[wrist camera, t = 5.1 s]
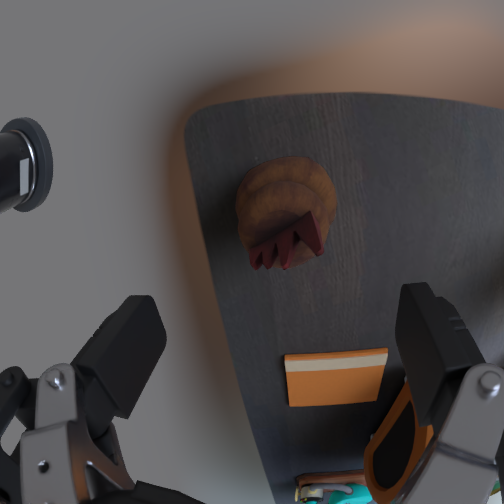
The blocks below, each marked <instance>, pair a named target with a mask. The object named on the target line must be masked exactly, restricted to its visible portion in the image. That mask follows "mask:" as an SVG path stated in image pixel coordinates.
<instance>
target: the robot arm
mask: <svg viewBox="0 0 504 504" xmlns="http://www.w3.org/2000/svg"><path fill="white" fill-rule="evenodd" d="M38 176H39V166H38V158H37V153H36V150H35V147H34V144H33V142H32V140H31V139H30V137H29V136H28V135H27V134H26V133H25V132H24V131H22V130H20V129H14V130H9V131H7V132H5V133H0V214H1V213H3V212H5V211H7V210H9V209H11V208H13V207H15V206H17V205H20V204H23V203H25V202H27V201H28V200H29V199H30V198H31V197H32V196H33V194H34V192H35V190H36V187H37V183H38ZM395 336H396V343H397V346H398V350H399V353H400V356H401V359H402V363H403V366H404V370H405V373H406V377H407V380H408V384H409V388H410V391H411V395H412V399H413V403H414V407H415V411H416V415H417V420H418V424H419V427H424V426H429V425H432V428H433V432H434V434H433V436H432V437H431V439H430V441H429V443H428V445H427V446H426V448H425V450H424V452H423V454H422V455H421V457H420V459H419V461H418V462H417V464H416V466H415V467H414V469H413V471H412V472H411V474H410V475H409V477H408V479H407V480H406V482H405V483H404V485H403V486H402V488H401V489H400V491H399V492H398V493H397V495H396V496H395V497H394V498H393V500H392V501H391V502H390V504H486V503H487V501H488V499H489V496H490V494H491V492H492V489H493V487H494V484H495V482H496V479H497V476H498V477H499V483H500V490H501V496H502V504H504V370H503V369H502V368H500V367H498V366H496V365H494V364H489V363H486V362H485V360H484V358H483V356H482V354H481V352H480V350H479V348H478V346H477V345H476V343H475V341H474V339H473V337H472V336H471V334H470V332H469V330H468V329H466V325H465V324H464V322H463V320H462V319H460V315H459V314H458V312H457V310H456V309H455V307H454V306H453V305H452V304H451V303H450V302H448V301H447V300H446V299H444V298H443V297H435V295H434V293H433V292H432V290H431V288H430V287H429V285H428V284H427V283H426V282H421V283H411V284H403V285H402V288H401V292H400V300H399V307H398V313H397V320H396V327H395ZM166 338H167V337H166V331H165V328H164V326H163V323H162V320H161V317H160V315H159V312H158V309H157V307H156V304H155V301H154V299H153V298H152V297H151V296H149V295H131V296H129V297H128V298H127V299H126V300H125V301H124V302H123V304H122V305H121V306H120V307H119V308H118V310H116V311H115V312H114V313H112V314H111V315H109V316H108V317H107V318H106V319H105V320H104V321H103V323H102V324H101V325H100V326H99V329H97V330H96V331H95V333H94V334H93V337H91V338H90V339H89V340H88V341H87V343H86V344H85V345H84V346H83V348H82V349H81V350H80V352H79V353H78V354H77V355H76V357H75V358H74V359H73V361H72V362H71V363H70V365H69V364H66V363H61V364H57V365H54V366H52V367H50V368H48V369H47V370H46V371H45V372H44V373H43V374H42V375H41V376H40V378H36V379H28V378H27V376H26V375H25V373H24V372H23V370H22V369H21V368H20V367H17V366H13V367H10V368H7V369H6V370H4V371H3V372H1V373H0V440H1V437H2V435H3V433H4V432H5V430H6V428H7V427H8V425H9V423H10V422H11V420H12V419H13V417H14V416H16V417H17V418H18V420H19V421H20V422H21V423H22V424H23V425H24V426H25V427H26V428H27V429H26V430H25V432H23V433H22V435H21V439H20V441H19V443H18V444H17V446H16V448H15V450H14V451H13V453H12V455H11V456H9V455H7V454H6V453H5V452H4V451H3V449H2V447H1V444H0V504H205V503H203V502H201V501H198V500H196V499H194V498H192V497H189V496H187V495H185V494H183V493H181V492H179V491H176V490H171V489H168V488H163V487H160V486H156V485H152V484H149V483H145V482H142V481H138V480H137V482H136V485H135V483H134V482H133V480H132V479H131V478H130V476H129V474H128V473H127V470H126V468H125V464H124V460H123V457H122V454H121V450H120V446H119V442H118V438H117V434H116V430H115V426H114V424H113V423H112V422H111V421H112V419H113V417H114V416H117V417H120V418H124V419H128V418H129V416H130V414H131V412H132V410H133V408H134V406H135V404H136V402H137V401H138V398H139V397H140V395H141V393H142V391H143V389H144V387H145V385H146V383H147V381H148V379H149V377H150V375H151V373H152V371H153V369H154V368H155V366H156V364H157V362H158V360H159V358H160V356H161V355H162V353H163V351H164V349H165V346H166V341H167V339H166ZM494 458H495V462H496V464H494Z"/></svg>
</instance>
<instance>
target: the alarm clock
mask: <svg viewBox="0 0 504 504" xmlns="http://www.w3.org/2000/svg"><path fill="white" fill-rule="evenodd" d="M404 379H405V384H404V386H403V388H402V390H401V392H400V393H399V395H398V397H397V399H396V400H395V402H394V404H393V406H392V407H391V409H390V411H389V412H388V414H387V416H386V417H385V419H384V420H383V422H382V424H381V425H380V427H379V428H378V430H377V431H376V433H373V434H372V435H371V440H370V442H369V443H368V445H367V446H366V448H365V451H364V475H365V480H366V484H367V488H368V490H369V492H370V494H371V496H372V499H373V500H374V501H375V502H377V503H378V504H390V502H391V501H392V500H393V498H394V497H395V496H396V495H397V493H398V492H399V491H400V489H401V488H402V486H403V485H404V483H405V482H406V480H407V479H408V477H409V475H410V474H411V472H412V471H413V469H414V467H415V466H416V464H417V462H418V461H419V459H420V457H421V455H422V454H423V452H424V450H425V448H426V446H427V445H428V443H429V441H430V439H431V437H432V436H433V434H434V432H433V428H432V425H429V426H424V427H419V424H418V420H417V415H416V411H415V407H414V403H413V399H412V395H411V391H410V388H409V384H408V380H407V377H406V376H405V378H404Z"/></svg>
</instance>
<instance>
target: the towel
mask: <svg viewBox="0 0 504 504" xmlns="http://www.w3.org/2000/svg"><path fill="white" fill-rule="evenodd" d="M387 352H388V348H387V347H386V348H377V349H367V350H357V351H345V352H331V353H314V354H290V355H285V369H286V376H287V386H288V396H289V406H319V405H336V404H348V403H359V402H369V401H376V400H377V396H378V392H379V388H380V384H381V380H382V376H383V371H384V367H385V365H386V360H387V356H388V353H387Z"/></svg>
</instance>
